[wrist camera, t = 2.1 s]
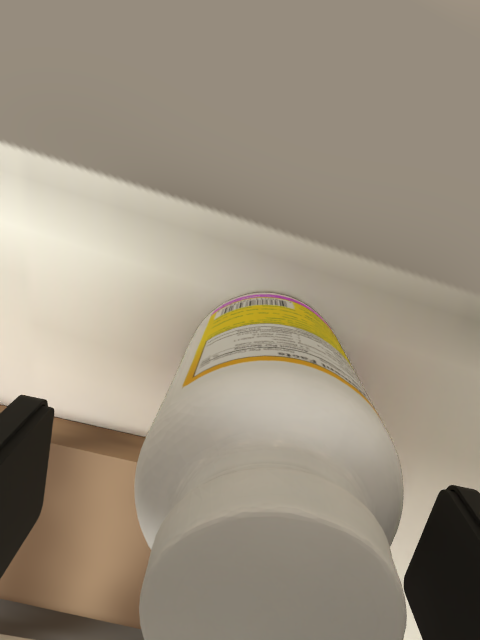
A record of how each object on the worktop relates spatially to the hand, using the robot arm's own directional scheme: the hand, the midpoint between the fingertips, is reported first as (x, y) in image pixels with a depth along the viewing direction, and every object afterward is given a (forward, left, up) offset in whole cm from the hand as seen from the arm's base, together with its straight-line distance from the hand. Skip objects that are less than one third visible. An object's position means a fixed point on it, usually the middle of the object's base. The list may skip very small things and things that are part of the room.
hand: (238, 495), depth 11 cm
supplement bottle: (-1, 0, -10) cm, 10 cm away
